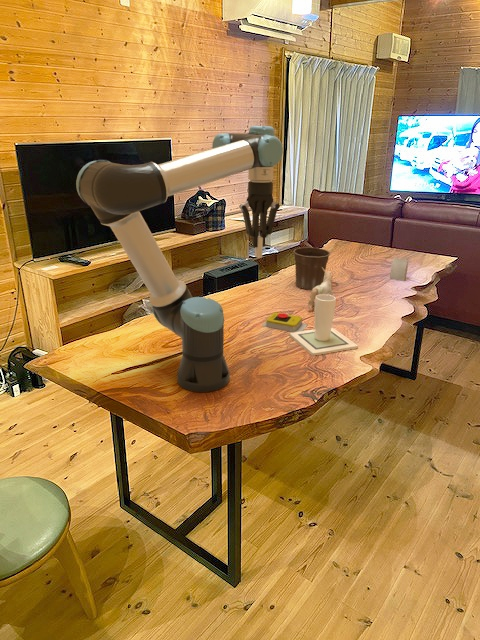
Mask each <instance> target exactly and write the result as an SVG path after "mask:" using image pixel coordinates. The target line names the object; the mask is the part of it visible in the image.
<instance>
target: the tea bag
mask: <svg viewBox="0 0 480 640" xmlns="http://www.w3.org/2000/svg"><path fill="white" fill-rule="evenodd" d="M408 267H409V259H404V258H398V257H393V258H392V263H391V267H390V272H389V279H390V280H395V281H400V282H404V281H406V280H407V274H408Z"/></svg>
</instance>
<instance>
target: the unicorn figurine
mask: <svg viewBox="0 0 480 640" xmlns="http://www.w3.org/2000/svg"><path fill="white" fill-rule="evenodd" d="M322 269H323V267H322ZM323 271H324V272H325V274H324V279H323V283H321V285H318V286H316V287H315V288H313V289H312V290H310V295H309V299H308V301H307V306H308V308H310V307H312V308H314V307H315V297H316V296H317V295H320V294H328V295H332V296H334V294H333V291H332V290H333V286H332V279H333V275H332V272H331V270H326V269H325V270H324V269H323Z"/></svg>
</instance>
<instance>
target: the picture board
mask: <svg viewBox="0 0 480 640" xmlns="http://www.w3.org/2000/svg"><path fill="white" fill-rule="evenodd" d="M314 333H315V328H314V329H306V330H303V331H300V332H289V333H288V336H289V337H290V339H292V340H293V341H295V342H296V343H297V344H298V345H299V346H300V347H301V348H302V349H304V350H305V351H306V352H307V353H308V354H309V355H311V357H316V356H315V355H317V356H322V355H321V354H323V355H327V354H326V353H329V354H332V353H331V352H335V353H339V352H338V351H341V352H344V351H343V350H346V351H351V350H350V349H352V350H357V349H356V348H359V345H357V344H356V343H355V342H354V341H352V340H350V339H349V338H348V337H347V336H345V335H343V334H342V333H341V332H339V331H338V330H336V329H335V328H334V327H332V328H331V333H330V339H329V340H327V341H319V340H316V339H315V337H314Z"/></svg>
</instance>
